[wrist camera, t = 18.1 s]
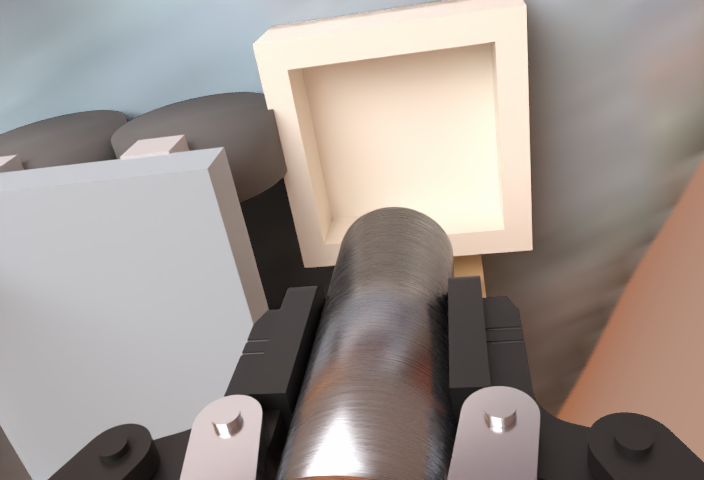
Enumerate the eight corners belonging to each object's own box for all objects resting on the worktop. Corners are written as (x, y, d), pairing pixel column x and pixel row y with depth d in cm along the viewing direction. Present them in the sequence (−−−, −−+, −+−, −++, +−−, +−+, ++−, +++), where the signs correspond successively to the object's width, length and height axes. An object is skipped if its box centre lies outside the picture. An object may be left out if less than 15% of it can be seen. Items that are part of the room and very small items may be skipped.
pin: (325, 325, 18) (218, 727, 10) (303, 185, 16) (140, 539, 7) (481, 323, 17) (519, 756, 9) (480, 177, 15) (528, 557, 7)
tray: (316, 231, 28) (304, 267, 26) (272, 25, 24) (252, 44, 21) (522, 213, 27) (532, 250, 24) (515, -11, 22) (526, 4, 20)
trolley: (126, 365, 34) (-90, 715, 20) (16, 111, 27) (-434, 369, 13) (346, 354, 32) (277, 736, 18) (287, 74, 25) (98, 336, 11)
